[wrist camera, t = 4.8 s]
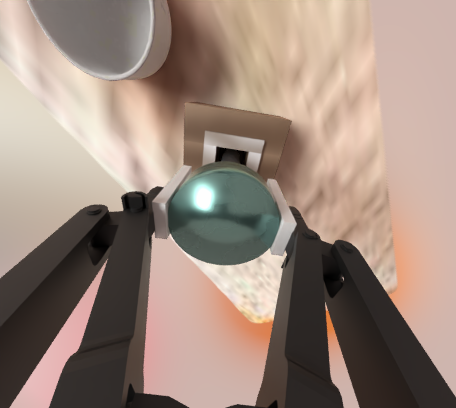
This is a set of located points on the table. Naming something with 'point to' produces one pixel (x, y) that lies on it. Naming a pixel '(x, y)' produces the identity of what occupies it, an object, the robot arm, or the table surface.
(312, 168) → the table surface
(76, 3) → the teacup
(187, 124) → the block
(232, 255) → the teal rounded knob
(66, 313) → the robot arm
